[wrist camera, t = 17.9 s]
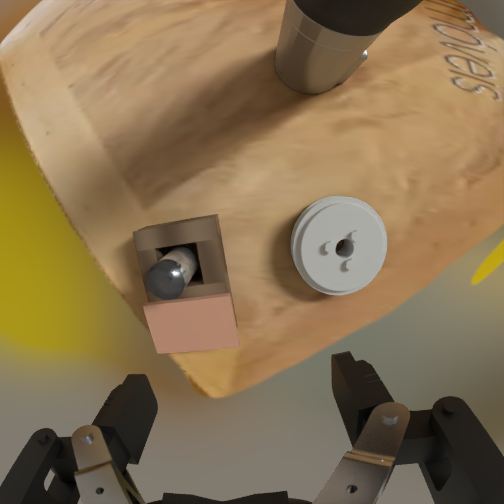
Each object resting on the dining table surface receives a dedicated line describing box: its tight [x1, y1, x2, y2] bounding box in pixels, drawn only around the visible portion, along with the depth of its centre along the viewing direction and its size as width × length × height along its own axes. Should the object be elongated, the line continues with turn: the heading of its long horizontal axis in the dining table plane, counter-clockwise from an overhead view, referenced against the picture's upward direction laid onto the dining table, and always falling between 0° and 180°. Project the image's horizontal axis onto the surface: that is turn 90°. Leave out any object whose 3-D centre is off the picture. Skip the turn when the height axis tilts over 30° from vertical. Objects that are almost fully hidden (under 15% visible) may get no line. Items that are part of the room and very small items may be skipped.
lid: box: [290, 196, 387, 295], centre depth 36 cm, size 13×13×5 cm
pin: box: [147, 243, 200, 300], centre depth 34 cm, size 4×4×11 cm
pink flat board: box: [143, 293, 240, 354], centre depth 35 cm, size 11×7×1 cm, turn 98°
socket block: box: [133, 214, 237, 326], centre depth 37 cm, size 10×16×5 cm, turn 8°
